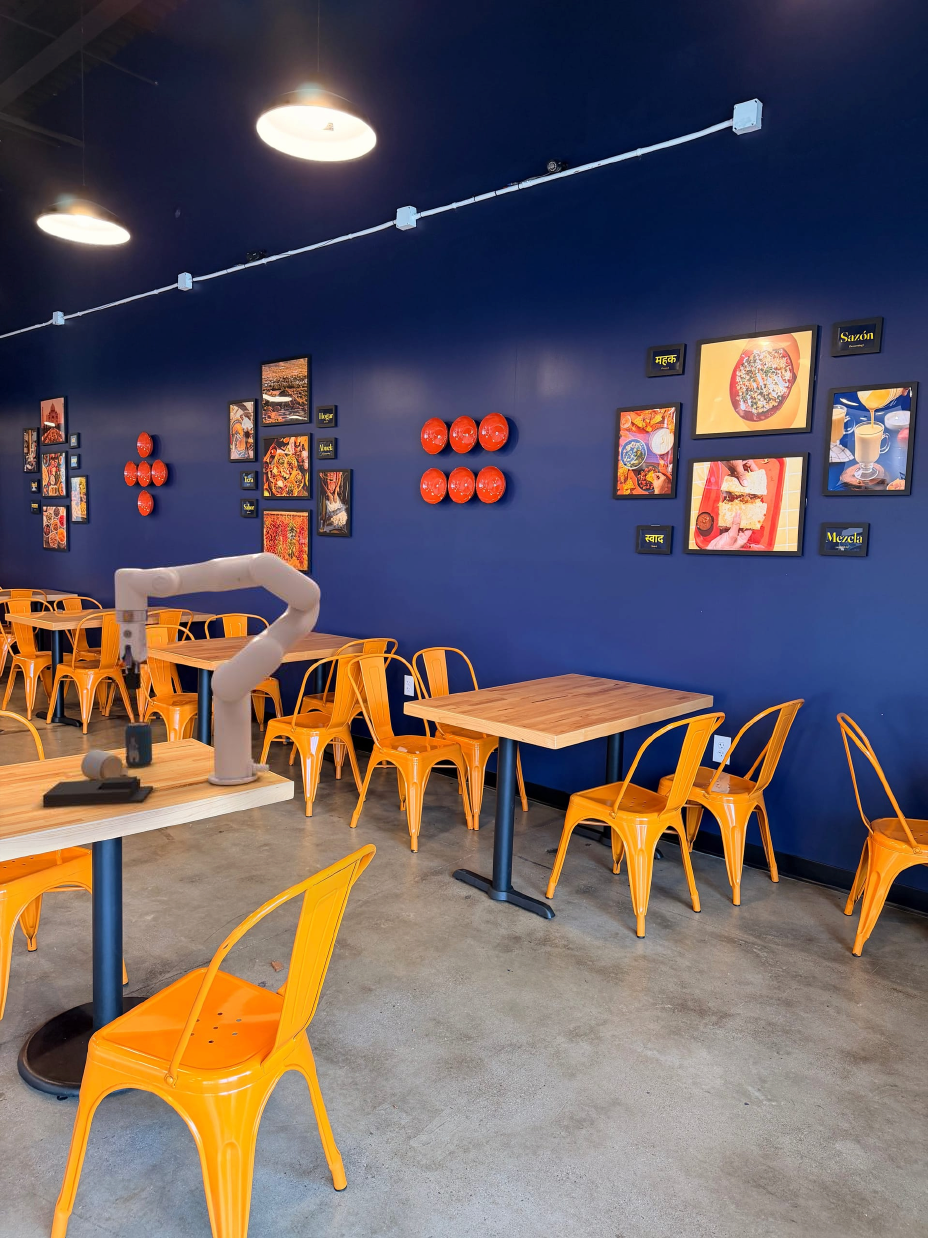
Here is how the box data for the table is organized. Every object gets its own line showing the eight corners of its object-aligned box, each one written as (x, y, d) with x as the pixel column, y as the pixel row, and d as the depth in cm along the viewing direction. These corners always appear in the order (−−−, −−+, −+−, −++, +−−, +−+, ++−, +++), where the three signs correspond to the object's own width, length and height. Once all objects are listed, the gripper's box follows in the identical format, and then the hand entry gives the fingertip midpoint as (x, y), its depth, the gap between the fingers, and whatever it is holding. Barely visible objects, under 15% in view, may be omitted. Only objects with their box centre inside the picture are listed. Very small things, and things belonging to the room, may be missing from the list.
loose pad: (137, 790, 198) (137, 776, 197) (132, 795, 193) (132, 781, 193) (107, 791, 196) (107, 777, 196) (101, 797, 192) (101, 782, 191)
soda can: (150, 761, 231) (149, 720, 230) (154, 766, 225) (153, 724, 224) (124, 764, 227) (123, 722, 226) (127, 769, 221) (126, 726, 220)
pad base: (153, 788, 202) (152, 778, 202) (142, 802, 190) (142, 791, 190) (60, 793, 198) (59, 781, 198) (43, 807, 186) (42, 795, 186)
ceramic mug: (101, 785, 205) (101, 755, 204) (80, 781, 208) (80, 752, 208) (135, 776, 214) (135, 748, 214) (115, 773, 218) (115, 745, 217)
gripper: (140, 618, 195) (142, 693, 197) (153, 615, 210) (155, 684, 211) (108, 619, 194) (110, 693, 195) (123, 615, 209) (125, 685, 210)
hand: (133, 688), depth 203 cm, fingers closed
